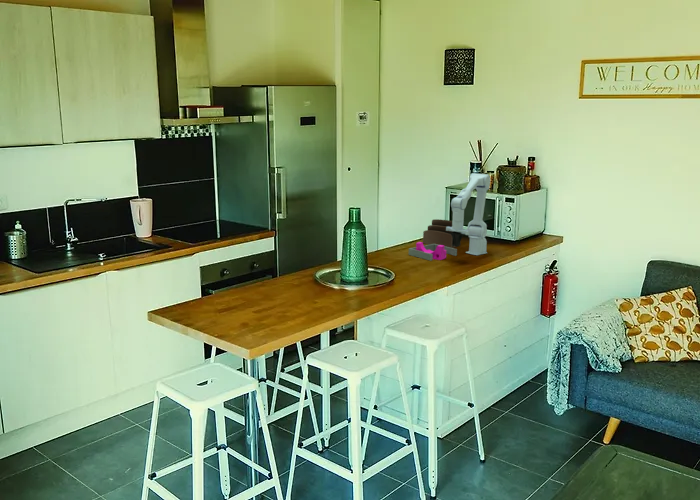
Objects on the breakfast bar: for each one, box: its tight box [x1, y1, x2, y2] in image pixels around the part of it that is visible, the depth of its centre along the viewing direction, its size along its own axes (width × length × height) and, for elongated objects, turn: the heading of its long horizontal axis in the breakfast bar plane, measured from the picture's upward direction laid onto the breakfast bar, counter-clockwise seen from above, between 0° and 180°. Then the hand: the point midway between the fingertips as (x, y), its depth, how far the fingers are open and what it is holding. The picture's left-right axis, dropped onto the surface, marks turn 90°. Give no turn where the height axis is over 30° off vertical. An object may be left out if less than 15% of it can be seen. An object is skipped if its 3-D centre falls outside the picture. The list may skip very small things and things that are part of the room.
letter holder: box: [422, 218, 461, 249], centre depth 396 cm, size 10×20×14 cm, turn 51°
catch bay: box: [408, 244, 458, 262], centre depth 371 cm, size 20×17×4 cm
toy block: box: [415, 241, 447, 261], centre depth 367 cm, size 15×6×8 cm, turn 56°
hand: (456, 246), depth 357 cm, fingers closed
